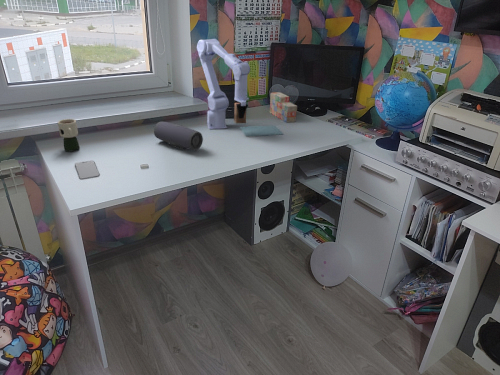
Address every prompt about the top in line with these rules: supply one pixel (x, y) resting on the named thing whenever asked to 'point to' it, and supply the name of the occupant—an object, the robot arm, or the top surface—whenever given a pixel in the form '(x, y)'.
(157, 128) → the bluetooth speaker
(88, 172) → the smartphone
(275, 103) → the stack of blocks
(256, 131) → the teal-grey mat
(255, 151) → the top surface
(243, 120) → the walnut block
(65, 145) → the character mug
